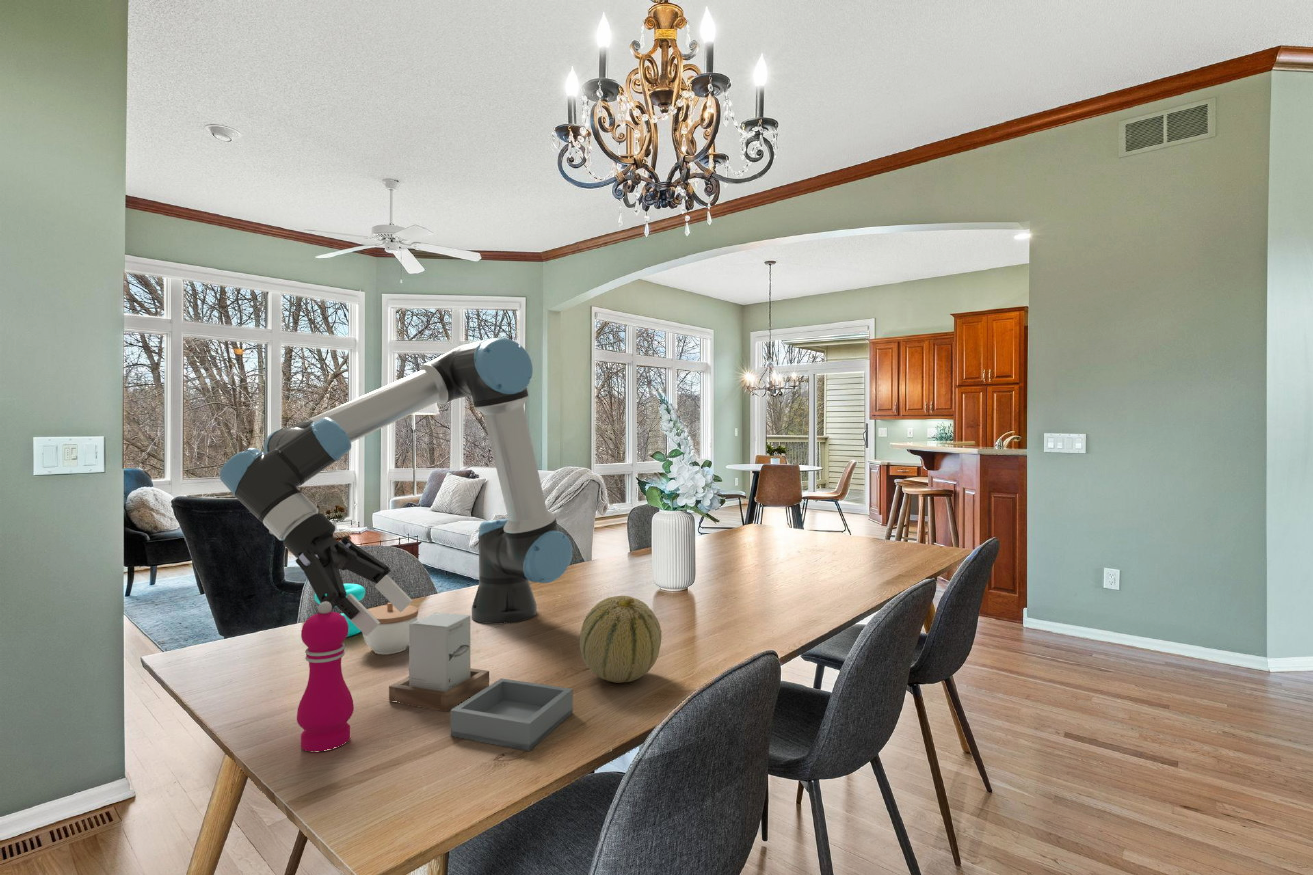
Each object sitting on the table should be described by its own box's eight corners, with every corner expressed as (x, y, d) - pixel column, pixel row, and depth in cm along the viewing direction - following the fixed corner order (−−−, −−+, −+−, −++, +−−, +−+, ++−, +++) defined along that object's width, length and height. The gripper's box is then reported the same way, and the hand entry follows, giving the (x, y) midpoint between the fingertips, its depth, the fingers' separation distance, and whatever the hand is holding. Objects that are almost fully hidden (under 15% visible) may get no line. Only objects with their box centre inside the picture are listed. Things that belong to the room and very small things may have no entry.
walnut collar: (434, 676, 119) (434, 662, 119) (489, 685, 115) (489, 670, 115) (389, 701, 108) (388, 686, 108) (447, 711, 104) (447, 695, 104)
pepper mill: (310, 731, 97) (309, 595, 97) (361, 729, 98) (360, 594, 98) (287, 755, 90) (286, 609, 90) (342, 753, 91) (341, 607, 90)
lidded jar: (428, 648, 134) (428, 602, 134) (375, 662, 126) (375, 613, 126) (403, 637, 141) (403, 593, 141) (352, 649, 133) (351, 603, 133)
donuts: (317, 584, 147) (366, 580, 151) (318, 628, 148) (366, 624, 151) (311, 594, 138) (363, 590, 141) (311, 642, 138) (363, 637, 142)
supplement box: (446, 704, 107) (446, 626, 107) (407, 699, 109) (407, 622, 109) (472, 687, 114) (471, 614, 114) (435, 682, 116) (434, 610, 116)
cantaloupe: (609, 659, 128) (609, 581, 127) (676, 673, 120) (676, 591, 120) (561, 685, 115) (561, 598, 115) (633, 702, 107) (632, 610, 107)
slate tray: (501, 701, 108) (501, 678, 108) (572, 712, 103) (572, 688, 103) (450, 736, 96) (450, 710, 96) (529, 750, 91) (529, 723, 91)
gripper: (323, 531, 123) (404, 612, 123) (237, 556, 98) (338, 658, 98) (352, 503, 123) (432, 584, 123) (273, 521, 98) (374, 623, 98)
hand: (391, 617), depth 111 cm, fingers open, 13 cm apart
